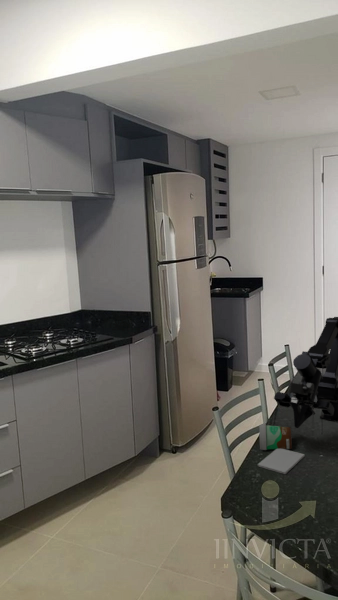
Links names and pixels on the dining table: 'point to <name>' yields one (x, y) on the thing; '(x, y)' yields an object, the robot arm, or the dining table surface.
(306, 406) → the robot arm
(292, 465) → the grey mat
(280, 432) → the food container
